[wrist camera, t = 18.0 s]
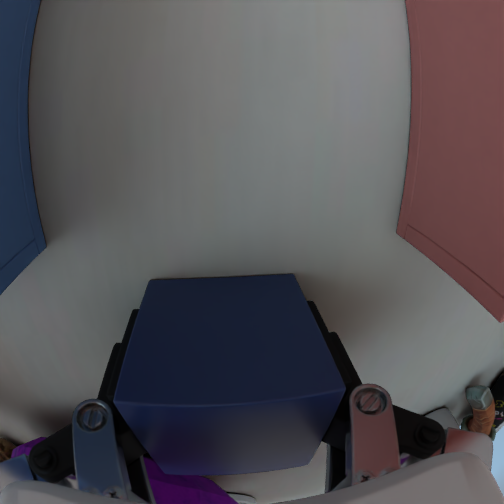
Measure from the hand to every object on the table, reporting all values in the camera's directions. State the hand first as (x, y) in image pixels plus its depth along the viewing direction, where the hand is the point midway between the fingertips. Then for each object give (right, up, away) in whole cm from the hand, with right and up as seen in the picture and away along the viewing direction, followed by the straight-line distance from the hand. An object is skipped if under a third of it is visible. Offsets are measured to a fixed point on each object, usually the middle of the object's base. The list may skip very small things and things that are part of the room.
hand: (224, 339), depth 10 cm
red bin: (+14, +11, -3) cm, 17 cm away
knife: (+38, -32, +18) cm, 52 cm away
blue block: (0, 0, 0) cm, 0 cm away
